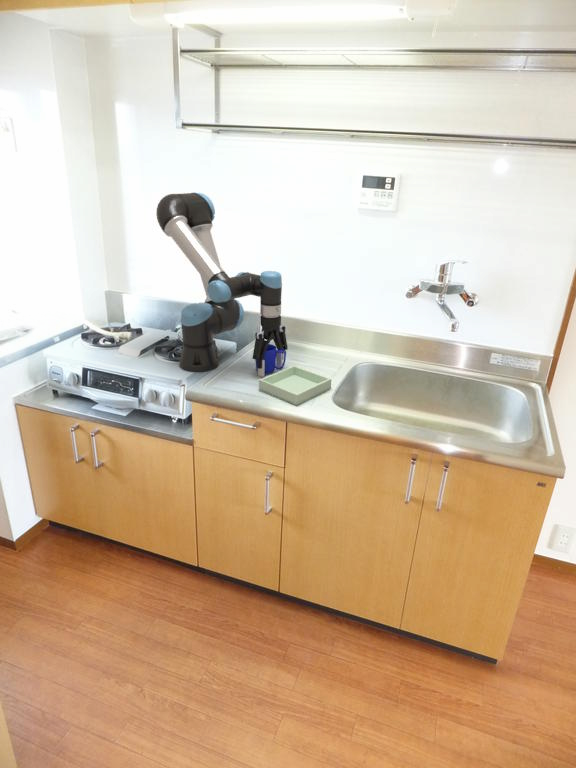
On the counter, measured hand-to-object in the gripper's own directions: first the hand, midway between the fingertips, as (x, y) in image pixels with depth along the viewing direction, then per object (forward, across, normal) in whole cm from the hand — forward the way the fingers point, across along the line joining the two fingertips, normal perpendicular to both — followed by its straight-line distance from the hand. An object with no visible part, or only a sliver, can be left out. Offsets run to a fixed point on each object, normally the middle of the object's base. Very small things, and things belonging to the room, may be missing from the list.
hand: (270, 371), depth 192 cm
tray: (0, -5, -17) cm, 18 cm away
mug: (0, 0, 0) cm, 0 cm away
